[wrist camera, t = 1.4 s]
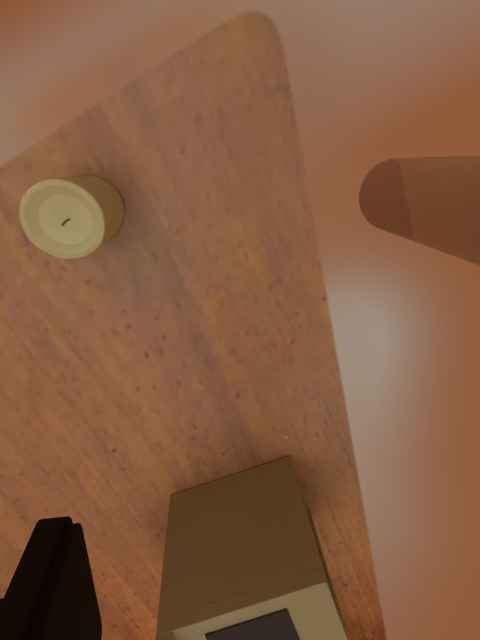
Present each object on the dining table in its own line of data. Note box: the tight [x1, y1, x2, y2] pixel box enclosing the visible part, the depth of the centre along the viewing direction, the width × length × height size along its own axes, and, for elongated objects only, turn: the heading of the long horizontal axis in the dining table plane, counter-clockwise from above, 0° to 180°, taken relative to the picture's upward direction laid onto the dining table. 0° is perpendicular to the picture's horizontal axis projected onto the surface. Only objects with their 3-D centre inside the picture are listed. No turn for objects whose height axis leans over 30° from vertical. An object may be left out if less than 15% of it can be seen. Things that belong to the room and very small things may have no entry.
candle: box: [19, 176, 124, 259], centre depth 31 cm, size 5×5×8 cm
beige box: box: [156, 456, 349, 640], centre depth 37 cm, size 12×8×17 cm, turn 109°
